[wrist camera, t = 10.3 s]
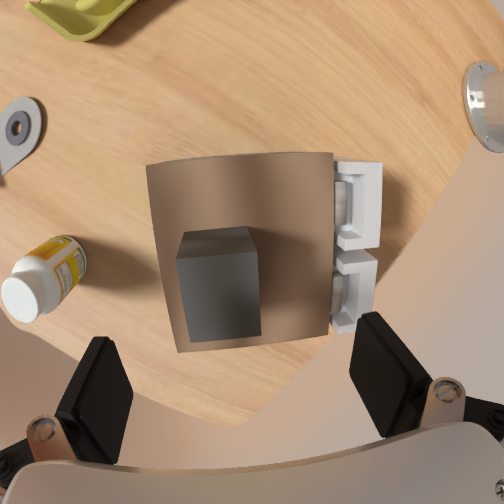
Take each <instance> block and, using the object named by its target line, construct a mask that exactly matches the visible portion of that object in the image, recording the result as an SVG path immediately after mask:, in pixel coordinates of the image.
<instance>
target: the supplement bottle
mask: <svg viewBox="0 0 504 504" xmlns="http://www.w3.org/2000/svg"><path fill="white" fill-rule="evenodd" d="M86 266H87V261H86V256H85V253H84V251H83V249H82V247H81V246H80V244H79V243H78V242H77V241H76V240H74V239H73V238H71V237H68V236H64V235H59V236H55V237H53V238H51V239H49V240H48V241H46V242H45V243H43V244H42V245H40V246H39V247H37V248H36V249H34V250H33V251H31V252H30V253H28V254H27V255H25V256H24V257H22V258H21V259H20V260H18V262H17V263H16V264H15V266H14V268H13V271H12V275H10V276H9V277H8V278H7V279H6V280H5V281H4V283H3V285H2V292H1V293H2V299H3V302H4V305H5V307H6V308H7V310H8V311H9V313H10V314H11V315H12V316H13V317H14V318H16V319H17V320H19V321H21V322H24V323H30V322H33V321H34V320H35V319H36V318H37V317H38V316H39V315H40V314H48V313H50V312H52V311H53V310H54V309H56V308H57V306H58V305H59V304H60V303H61V302H62V300H63V299H64V298H65V297H66V296H67V295H68V294H69V292H70V291H71V290H72V289H73V288H74V287H75V286H76V284H77V283H78V282H79V281H80V280H81V279H82V278H83V276H84V274H85V271H86Z"/></svg>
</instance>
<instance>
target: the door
mask: <svg viewBox="0 0 504 504" xmlns="http://www.w3.org/2000/svg"><path fill="white" fill-rule="evenodd" d="M146 174H147V184H148V192H149V200H150V208H151V216H152V223H153V230H154V236H155V243H156V249H157V255H158V261H159V267H160V272H161V278H162V283H163V288H164V293H165V298H166V303H167V308H168V313H169V317H170V322H171V326H172V331H173V335H174V339H175V344H176V348H177V352H178V353H183V352H197V351H209V350H220V349H230V348H240V347H249V346H257V345H265V344H272V343H280V342H287V341H293V340H300V339H306V338H312V337H318V336H324V335H328V328H329V316H330V312H331V313H338V312H340V311H341V309H342V298H343V285H344V275H343V274H342V273H341V272H332V267H333V239H334V225H339V226H340V225H346V224H347V181H341V180H334V159H333V153H328V152H313V153H275V154H255V155H239V156H226V157H214V158H203V159H193V160H184V161H175V162H167V163H160V164H152V165H147V166H146Z"/></svg>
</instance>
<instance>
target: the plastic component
mask: <svg viewBox="0 0 504 504" xmlns="http://www.w3.org/2000/svg"><path fill="white" fill-rule="evenodd" d="M136 1H138V0H40V1H39V2H37V3H36V2H28V3H27V4H26V5H25V6H24V7H25V8H26V9H27V10H28V11H30V12H31V13H33V14H34V15H35V16H37V17H38V18H39V19H41V20H42V21H43V22H45V23H46V24H47V25H49V26H50V27H51V28H53V29H54V30H55V31H57V32H58V33H59V34H61V35H62V36H63V37H65V38H66V39H68V40H71V41H89V40H92V39H94V38H96V37H98V36H99V35H101V34H102V33H103V32H104V31H105V30H106V29H107V28H108V27H109V26H110V25H111V24H112V23H113V22H114V21H115V20H116V19H117V18H118V17H120V16H121V15H122V14H123V13H124V12H125V11H126V10H127V9H128V8H129V7H131V6H132V5H133V4H134V3H135V2H136Z"/></svg>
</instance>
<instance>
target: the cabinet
mask: <svg viewBox="0 0 504 504" xmlns="http://www.w3.org/2000/svg"><path fill="white" fill-rule="evenodd" d="M275 153H311V152H275ZM275 153H254V154H237V155H224V156H212V157H201V158H191V159H182V160H174V161H165V162H161V163H167V162H175V161H184V160H193V159H203V158H214V157H226V156H239V155H255V154H275ZM333 159H334V180H341V181H347V224H346V225H340V226H339V225H334V239H333V267H332V272H341V273H342V274H343V275H344V285H343V298H342V309H341V311H340V312H338V313H331V312H330V316H329V322H330V324H331V325H332V327H333V328H334V330H335V331H336V333H337V335H340V334H345V333H351V332H356V326H357V320H358V318H361V316H362V314H363V313H369V312H372V305H373V298H374V290H375V282H376V273H377V264H378V260H377V259H376V258H374V257H373V256H372V255H370V254H369V253H368V252H366V251H365V250H363V249H366V248H376V247H379V241H380V227H381V208H382V163H380V162H373V161H366V160H358V159H349V158H340V157H333ZM157 164H160V163H157Z"/></svg>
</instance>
